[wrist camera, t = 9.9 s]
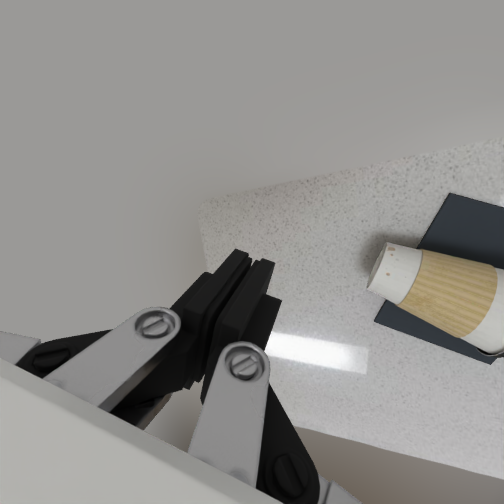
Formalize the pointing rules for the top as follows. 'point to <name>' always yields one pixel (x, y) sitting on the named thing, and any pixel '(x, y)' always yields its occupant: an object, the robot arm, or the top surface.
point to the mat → (458, 245)
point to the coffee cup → (445, 293)
